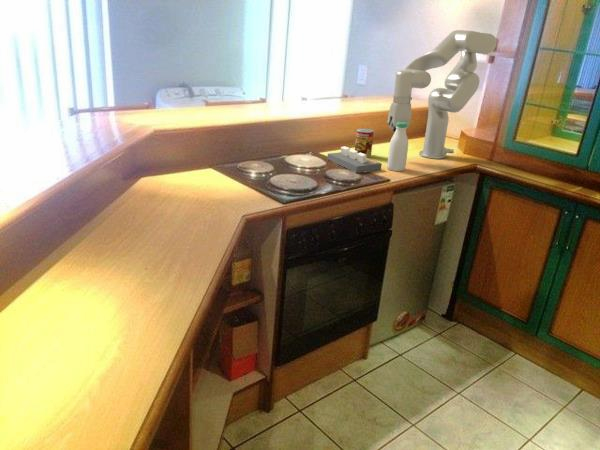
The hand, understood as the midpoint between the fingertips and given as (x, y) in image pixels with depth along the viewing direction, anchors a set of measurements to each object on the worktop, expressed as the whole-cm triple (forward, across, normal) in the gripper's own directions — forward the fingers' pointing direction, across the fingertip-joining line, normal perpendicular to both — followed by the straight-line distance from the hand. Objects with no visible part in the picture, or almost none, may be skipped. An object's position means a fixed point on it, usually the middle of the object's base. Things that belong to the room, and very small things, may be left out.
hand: (397, 141), depth 221 cm
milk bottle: (+9, +10, +12) cm, 18 cm away
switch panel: (+8, +24, 0) cm, 25 cm away
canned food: (+9, +10, -12) cm, 18 cm away
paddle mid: (+5, +24, 0) cm, 24 cm away
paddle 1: (+5, +24, -6) cm, 25 cm away
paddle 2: (+5, +24, +6) cm, 25 cm away
